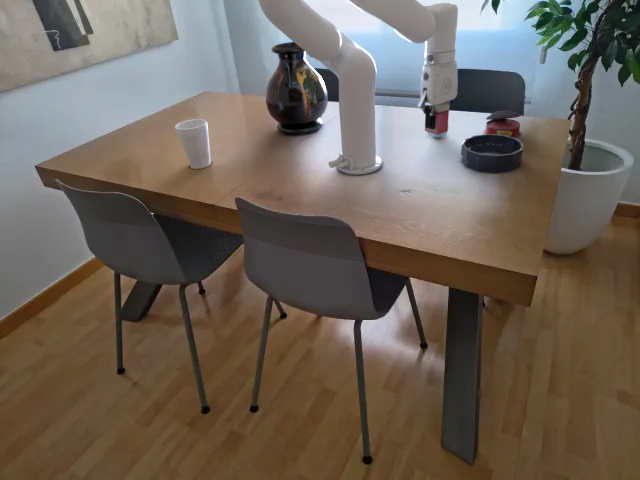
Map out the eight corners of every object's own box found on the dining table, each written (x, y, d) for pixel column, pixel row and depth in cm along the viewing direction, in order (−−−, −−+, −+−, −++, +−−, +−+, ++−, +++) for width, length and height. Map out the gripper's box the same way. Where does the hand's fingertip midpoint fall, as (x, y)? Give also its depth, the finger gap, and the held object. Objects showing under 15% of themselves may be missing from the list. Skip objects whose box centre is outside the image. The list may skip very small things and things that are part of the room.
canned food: (484, 149, 142) (472, 120, 139) (501, 136, 146) (490, 108, 144) (516, 140, 132) (503, 109, 130) (533, 127, 136) (521, 97, 134)
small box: (424, 131, 127) (425, 103, 123) (435, 127, 129) (436, 100, 124) (436, 135, 123) (438, 107, 119) (448, 131, 125) (450, 103, 121)
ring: (496, 178, 114) (498, 160, 111) (449, 162, 125) (450, 145, 122) (532, 161, 121) (535, 143, 118) (485, 146, 132) (487, 130, 129)
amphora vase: (324, 138, 149) (316, 49, 134) (263, 139, 153) (249, 53, 138) (334, 117, 167) (328, 37, 151) (278, 119, 171) (267, 41, 156)
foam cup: (185, 173, 135) (174, 131, 128) (185, 161, 142) (174, 122, 135) (216, 167, 136) (207, 126, 129) (214, 156, 144) (205, 117, 137)
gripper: (427, 65, 109) (424, 137, 119) (473, 52, 116) (467, 120, 126) (405, 62, 114) (405, 131, 124) (450, 49, 121) (446, 115, 131)
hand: (436, 125), depth 125 cm, fingers closed on small box, 4 cm apart
